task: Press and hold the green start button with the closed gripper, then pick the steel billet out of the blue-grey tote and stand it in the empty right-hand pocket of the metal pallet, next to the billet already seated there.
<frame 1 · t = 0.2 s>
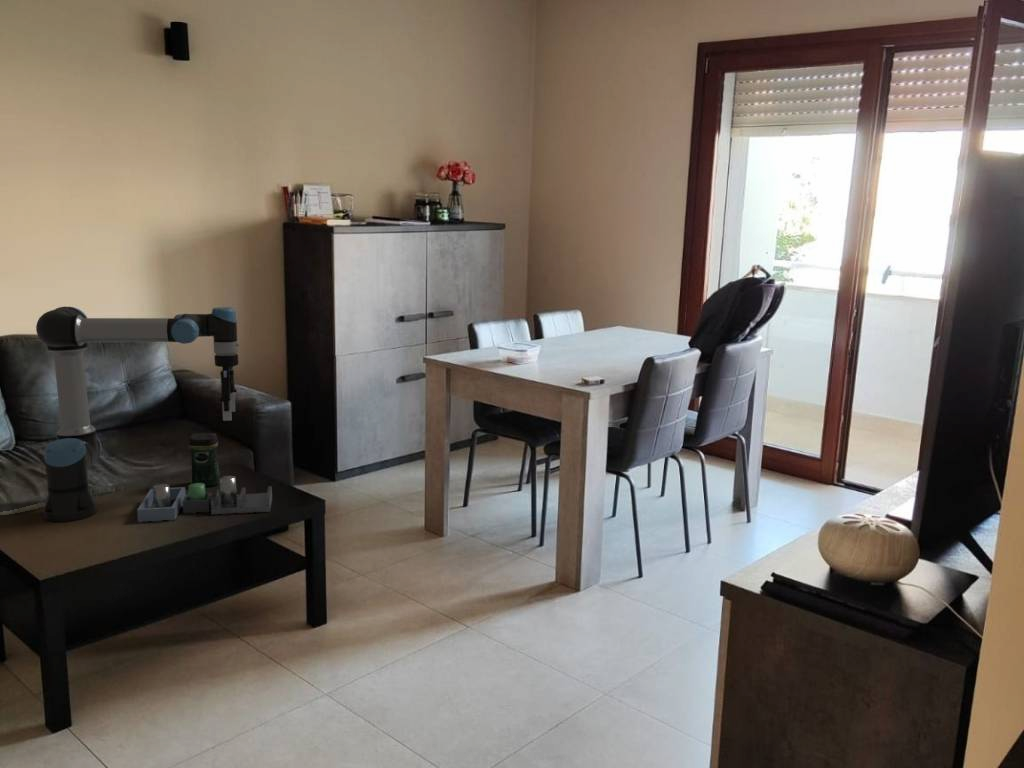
hand: (229, 416, 298), 27 cm above the table, tool pointing down, fingers open, 13 cm apart
start button: (197, 494, 286), point 5 cm above the table, slide at 0.0 cm
pallet: (242, 506, 290), on the table
tote: (162, 509, 286), on the table
billet: (162, 510, 286), resting in tote
coffee jar: (206, 484, 314), on the table
seated billet: (228, 501, 289), resting on pallet
button housing: (198, 508, 287), on the table
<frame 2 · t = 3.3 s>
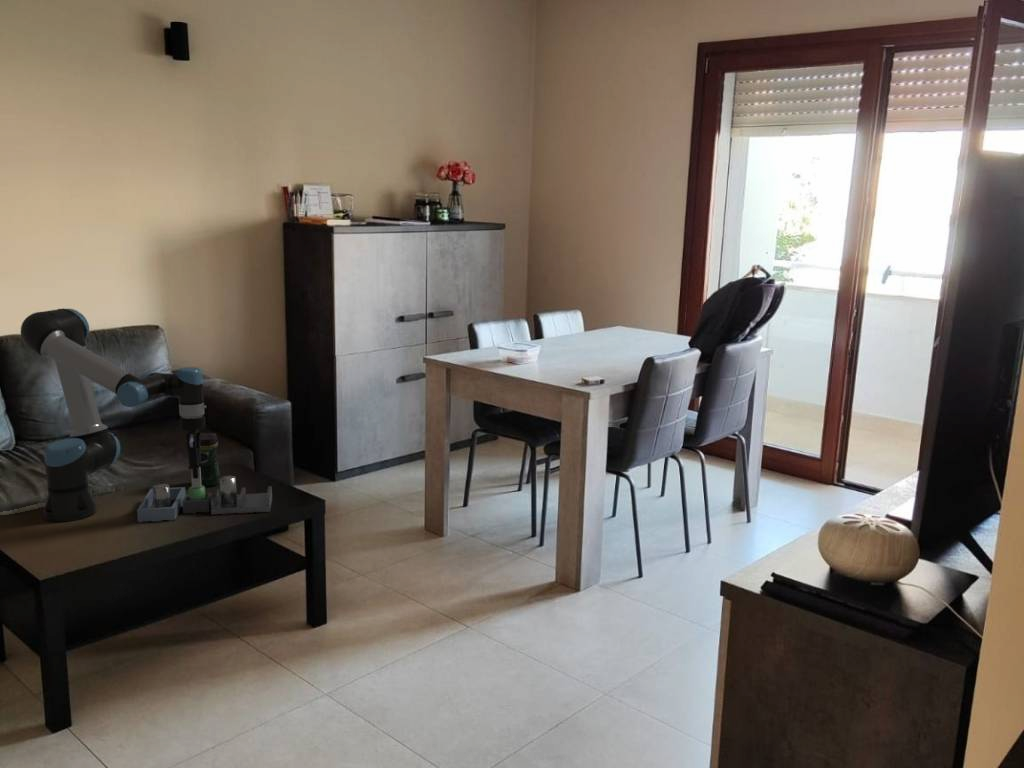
hand: (196, 486, 286), 7 cm above the table, tool pointing down, fingers closed
start button: (197, 496, 287), point 4 cm above the table, slide at -0.8 cm, touching gripper
everything else where it was.
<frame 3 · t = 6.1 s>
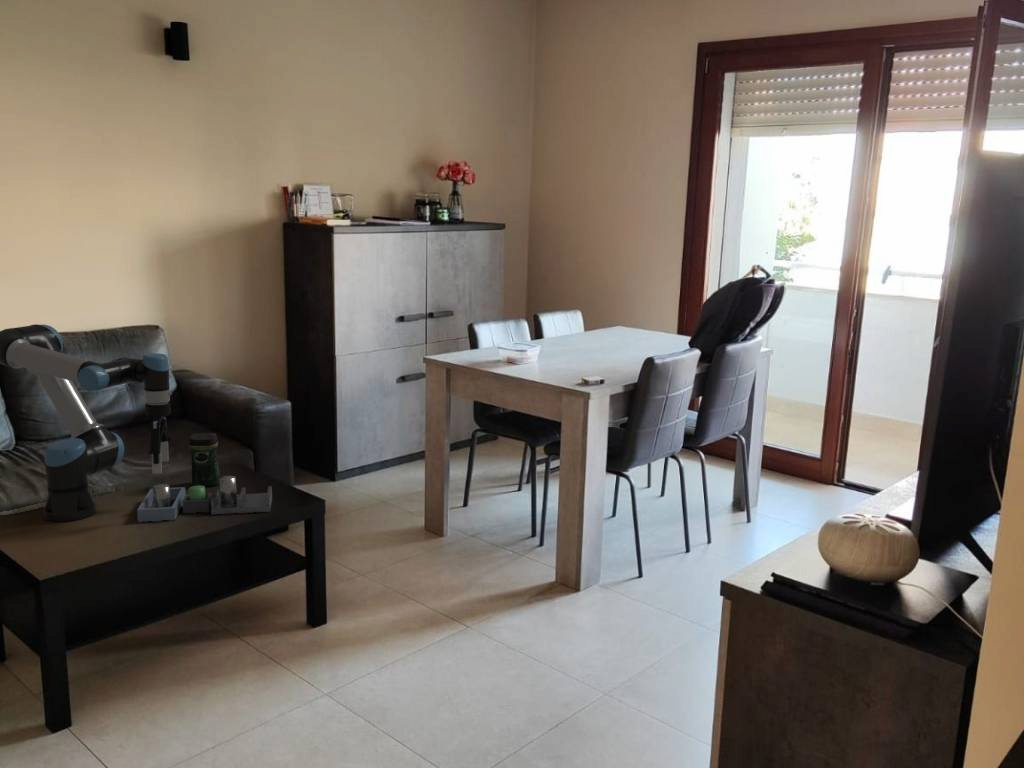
hand: (160, 467, 284), 14 cm above the table, tool pointing down, fingers open, 13 cm apart
start button: (197, 496, 287), point 4 cm above the table, slide at -0.8 cm
everything else where it was.
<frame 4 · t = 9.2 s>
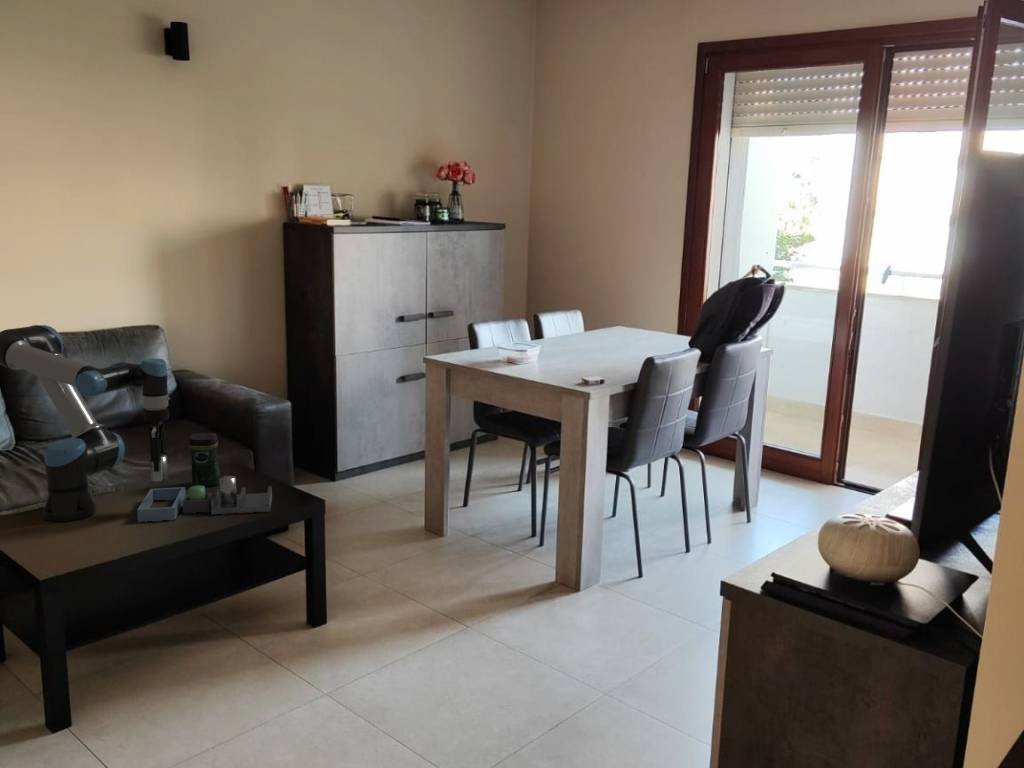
hand: (159, 477, 284), 11 cm above the table, tool pointing down, fingers closed on billet, 5 cm apart
billet: (159, 480, 284), point 10 cm above the table, touching gripper
everything else where it was.
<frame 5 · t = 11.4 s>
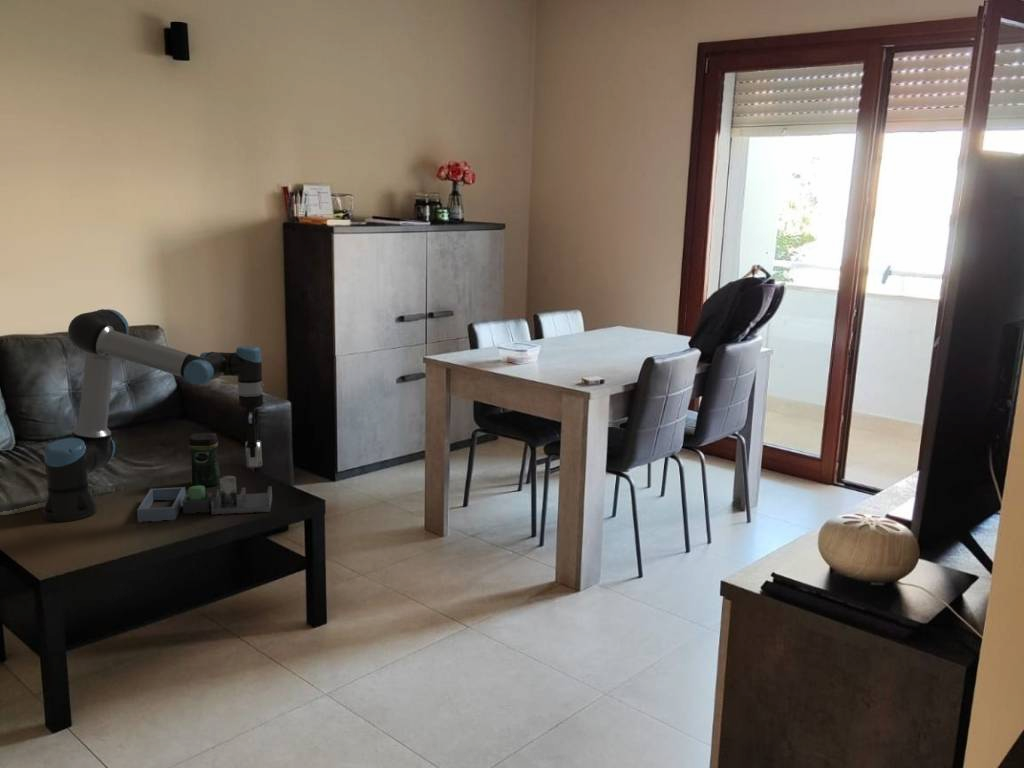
hand: (254, 463, 288), 14 cm above the table, tool pointing down, fingers closed on billet, 5 cm apart
billet: (254, 465, 288), point 14 cm above the table, touching gripper
everything else where it was.
when the fingers open (3 cm above the table, at t = 13.7 s): billet stays where it is, resting on pallet.
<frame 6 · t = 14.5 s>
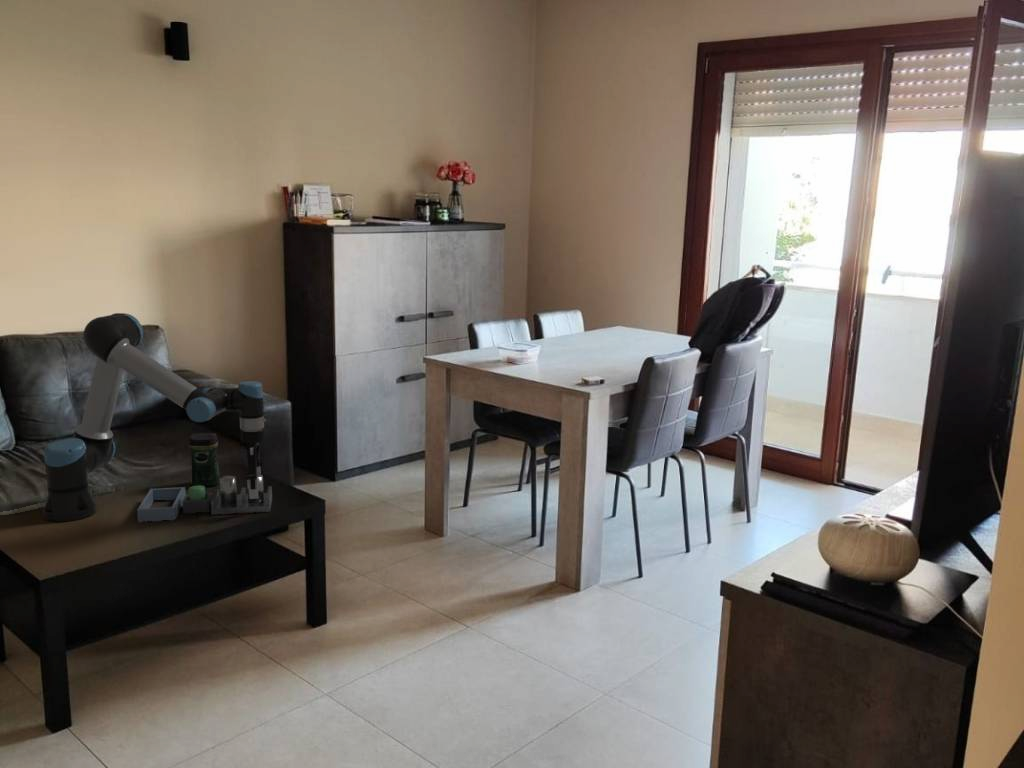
hand: (255, 492, 290), 5 cm above the table, tool pointing down, fingers open, 13 cm apart
billet: (255, 499, 291), point 2 cm above the table, touching pallet
everything else where it was.
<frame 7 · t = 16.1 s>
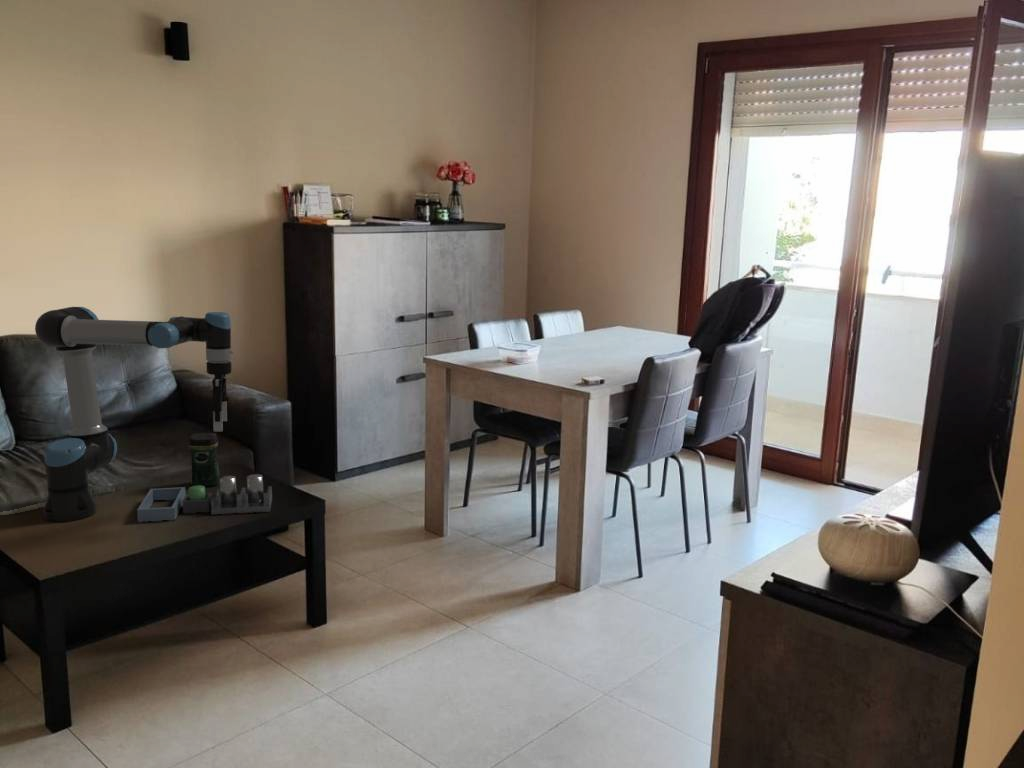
hand: (220, 426, 284), 27 cm above the table, tool pointing down, fingers open, 13 cm apart
nothing on the table moved.
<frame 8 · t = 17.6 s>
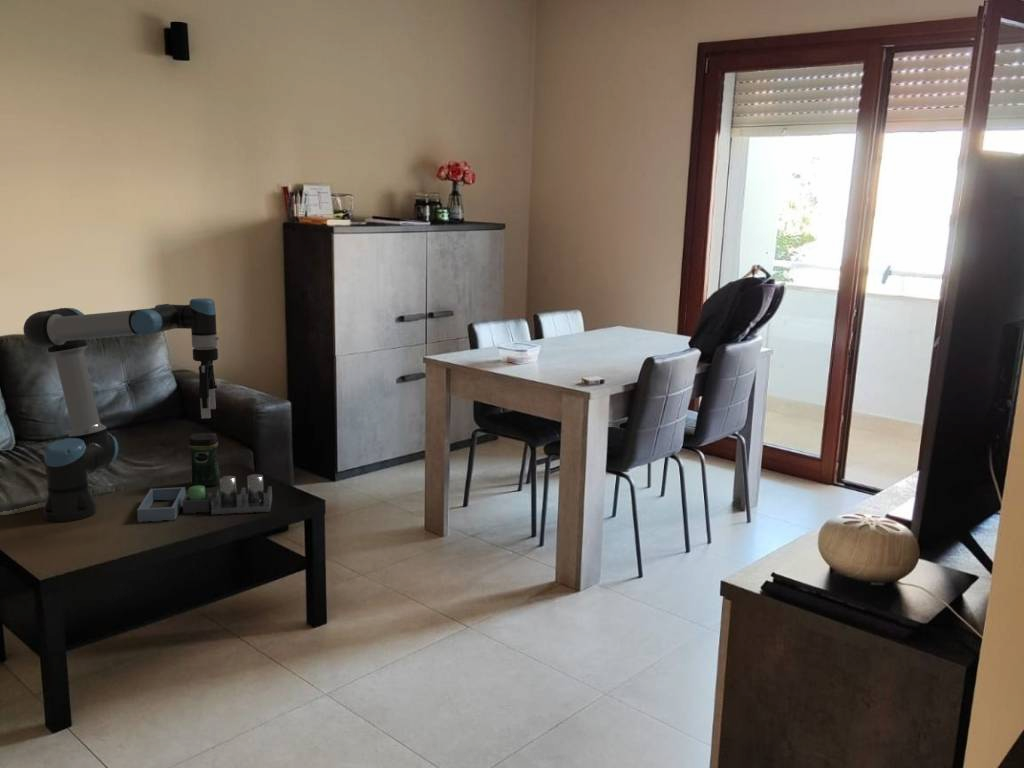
hand: (208, 413, 282), 32 cm above the table, tool pointing down, fingers open, 13 cm apart
nothing on the table moved.
at the end: billet inside the target area on the pallet (0.2 cm from its centre), point 2.0 cm above the pallet's base; billet tilted 1°; the gripper is holding nothing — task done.
